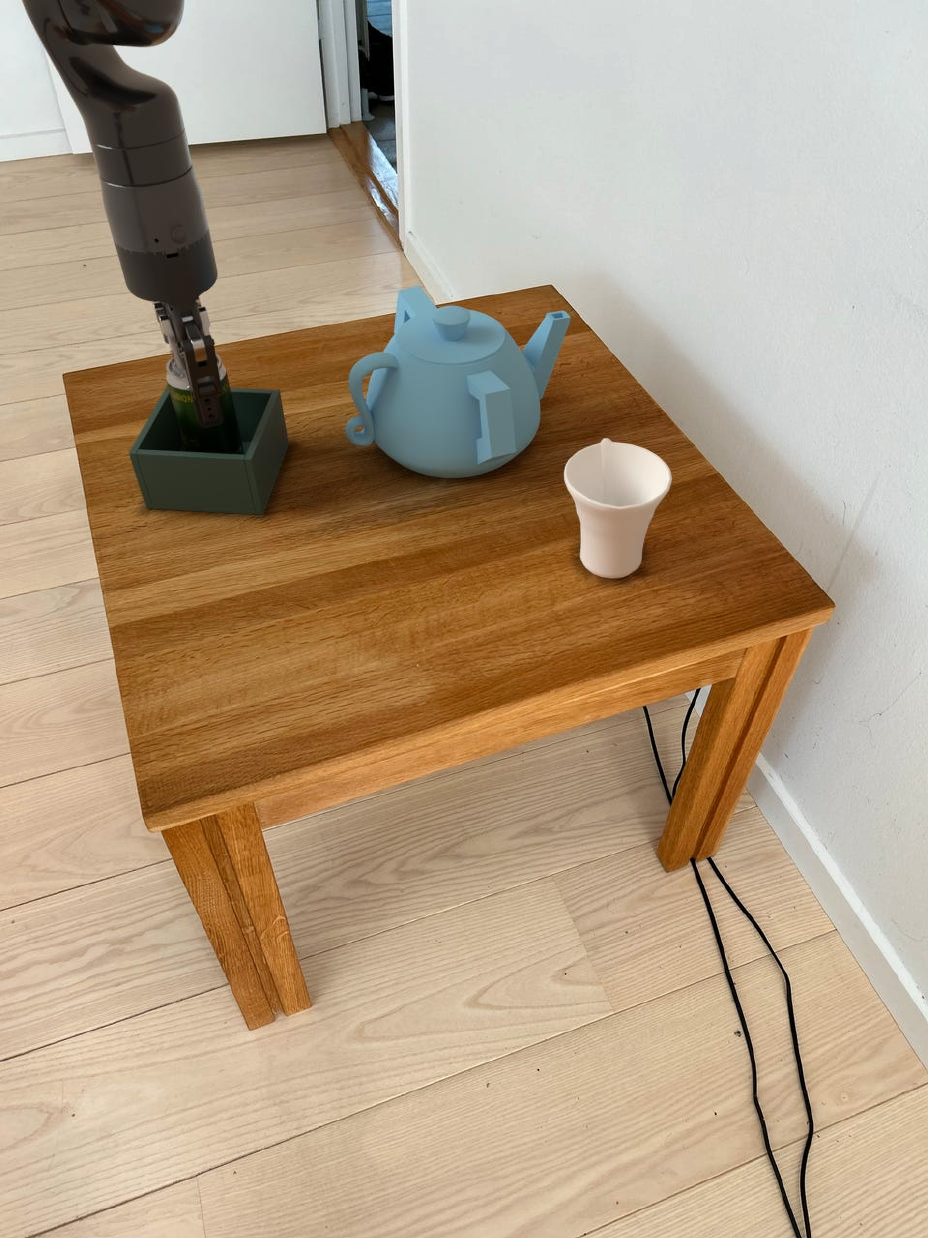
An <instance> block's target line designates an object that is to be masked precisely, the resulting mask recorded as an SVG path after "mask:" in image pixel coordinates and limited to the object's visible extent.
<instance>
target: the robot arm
mask: <svg viewBox="0 0 928 1238" xmlns="http://www.w3.org/2000/svg"><path fill="white" fill-rule="evenodd" d="M21 2H22V4H23V7H24V10H25V12H26V15H27V17H28V19H29V22H30V23H31V25H32V27H33V29H34V31H35V33H36V36H37V37H38V39H39V41H40V42H41V45H42V46H43V48H44V50H45V52H46V53H47V55H48V57H49V59H50V60H51V62H52V64H53V66H54V68H55V69H56V71H57V73H58V75H59V77H60V79H61V81H62V83H63V85H64V87H65V89H66V90H67V91H66V92H68V94H69V96H70V97H71V99H72V101H73V103H74V104H75V106H76V108H77V110H78V112H79V114H80V116H81V118H82V120H83V124H84V127H85V130H86V134H87V135H86V136H87V138H88V141H89V146H90V149H91V152H92V156H93V160H94V163H95V166H96V170H97V173H98V174H97V175H98V178H99V184H100V189H101V197H102V202H103V207H104V212H105V215H106V218H107V222H108V225H109V229H110V232H111V236H112V239H113V244H114V247H115V251H116V254H117V258H118V262H119V264H120V268H121V272H122V276H123V279H124V283H125V287H126V288H127V290H128V291H129V292H130V293H131V294H132V295H133V296H135V297H137V298H139V299H141V300H143V301H146V302H152V303H151V304H152V309H153V312H154V315H155V317H156V320H157V322H158V324H159V328H160V331H161V332H160V333H161V335H162V337H163V341H164V342H165V344H168V345H169V353H170V355H172V357H174V361H175V364H176V365H177V366H178V367H179V368H180V369H183V371H184V374H185V377H186V381H187V384H188V386H187V389H188V392H189V391H190V393H191V396H192V400H193V404H194V408H195V412H196V416H197V420H198V423H199V425H200V427H201V428H209V427H213V426H217V425H220V424H222V423H223V415H222V410H221V406H220V402H219V397H218V394H219V393H222V388H223V386H222V383H221V381H220V375H219V370H218V364H217V359H216V354H217V352H216V349H215V345H216V342H215V339H214V338H213V336H212V335H211V332H210V327H211V321H210V318H209V317H210V316H209V314H208V311H207V308H206V306H205V305H202V303H201V302H202V301H201V298H200V296H201V295H202V294H203V293H205V292H208V291H209V290H211V288H212V287H213V286H214V285H215V284H216V282H217V280H218V275H219V273H218V272H219V271H218V267H217V263H216V262H217V261H216V257H215V253H214V247H213V243H212V237H211V232H210V228H209V223H208V218H207V214H206V208H205V203H204V199H203V194H202V190H201V187H200V185H199V182H198V179H197V176H196V173H195V170H194V166H193V162H192V156H191V152H190V146H189V142H188V137H187V132H186V127H185V122H184V118H183V113H182V108H181V106H180V102H179V99H178V96H177V94H176V92H175V90H174V89H173V87H171V86H170V85H169V84H168V83H166V82H164V81H163V80H161V79H159V78H156V77H154V76H153V75H152V76H151V75H149V74H146V73H144V72H141V71H139V70H136V69H134V68H132V67H131V66H130V65H129V64H127V63H126V62H125V61H124V60H123V58H122V57H121V56H120V54H119V52H118V51H117V49H116V46H117V47H130V48H151V47H156V46H160V45H162V44H164V43H166V42H167V41H168V40H169V39H170V38H172V37H173V36H174V35H175V33H176V31H177V30H178V28H179V26H180V24H181V22H182V20H183V16H184V9H185V0H21ZM182 352H183V355H184V357H181V355H180V353H182ZM206 376H208V377H206ZM202 377H203V378H202Z"/></svg>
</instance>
